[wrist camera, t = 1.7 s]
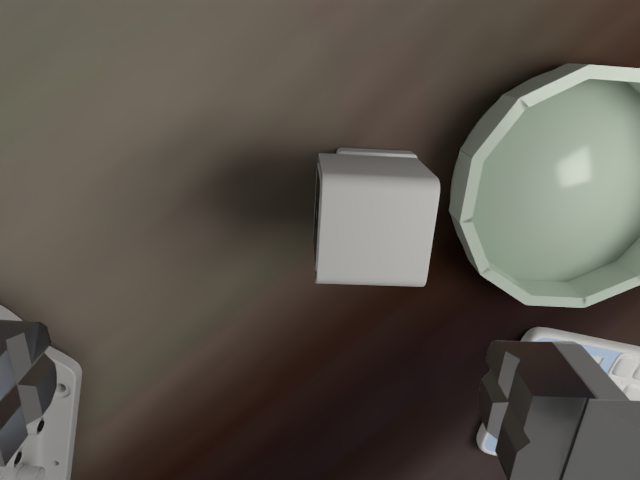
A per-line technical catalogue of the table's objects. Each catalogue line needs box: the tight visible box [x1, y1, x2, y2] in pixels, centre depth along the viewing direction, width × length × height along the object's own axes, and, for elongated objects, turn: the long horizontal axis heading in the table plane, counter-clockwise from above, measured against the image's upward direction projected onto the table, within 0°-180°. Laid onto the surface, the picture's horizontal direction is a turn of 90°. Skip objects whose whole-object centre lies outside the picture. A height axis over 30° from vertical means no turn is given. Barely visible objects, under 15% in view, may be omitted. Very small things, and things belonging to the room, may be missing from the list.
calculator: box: [476, 327, 640, 456], centre depth 43 cm, size 13×20×2 cm, turn 76°
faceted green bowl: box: [449, 63, 640, 308], centre depth 34 cm, size 17×17×3 cm
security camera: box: [313, 148, 440, 287], centre depth 30 cm, size 6×7×10 cm
